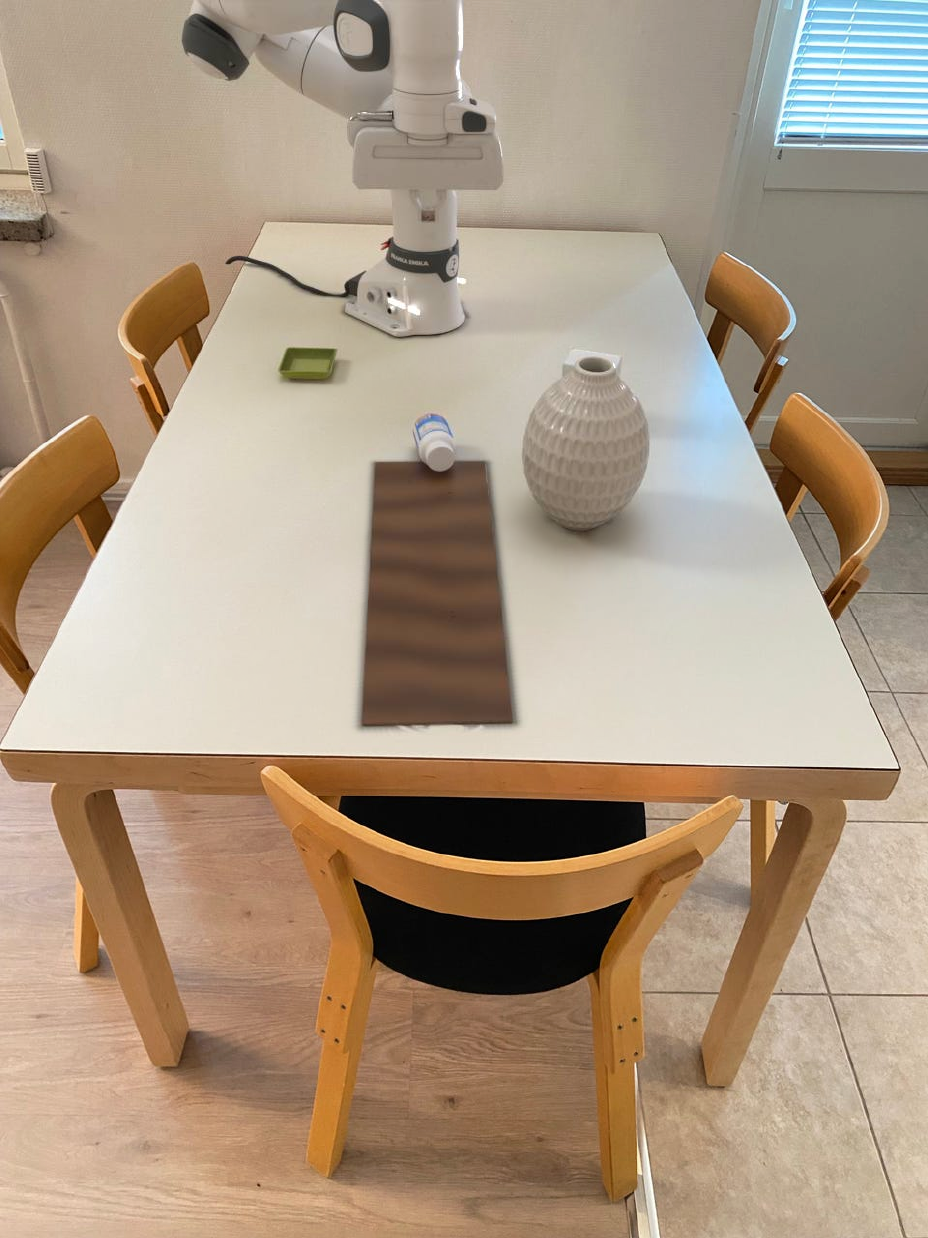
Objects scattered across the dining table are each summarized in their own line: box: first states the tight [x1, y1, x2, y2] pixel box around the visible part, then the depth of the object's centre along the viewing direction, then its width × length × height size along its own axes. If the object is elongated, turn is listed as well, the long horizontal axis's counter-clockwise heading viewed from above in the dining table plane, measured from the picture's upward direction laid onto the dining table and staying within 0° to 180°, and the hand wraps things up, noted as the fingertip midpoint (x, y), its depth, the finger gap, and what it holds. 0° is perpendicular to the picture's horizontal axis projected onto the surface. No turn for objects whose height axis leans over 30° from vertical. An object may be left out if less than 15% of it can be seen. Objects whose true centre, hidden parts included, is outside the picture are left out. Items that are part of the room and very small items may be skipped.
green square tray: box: [277, 346, 338, 380], centre depth 161 cm, size 9×9×2 cm
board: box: [361, 460, 514, 726], centre depth 121 cm, size 51×16×1 cm, turn 2°
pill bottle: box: [412, 412, 457, 472], centre depth 139 cm, size 6×5×10 cm
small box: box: [561, 348, 623, 378], centre depth 147 cm, size 8×6×10 cm
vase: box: [521, 356, 651, 531], centre depth 124 cm, size 16×16×22 cm
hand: (428, 221), depth 133 cm, fingers closed
